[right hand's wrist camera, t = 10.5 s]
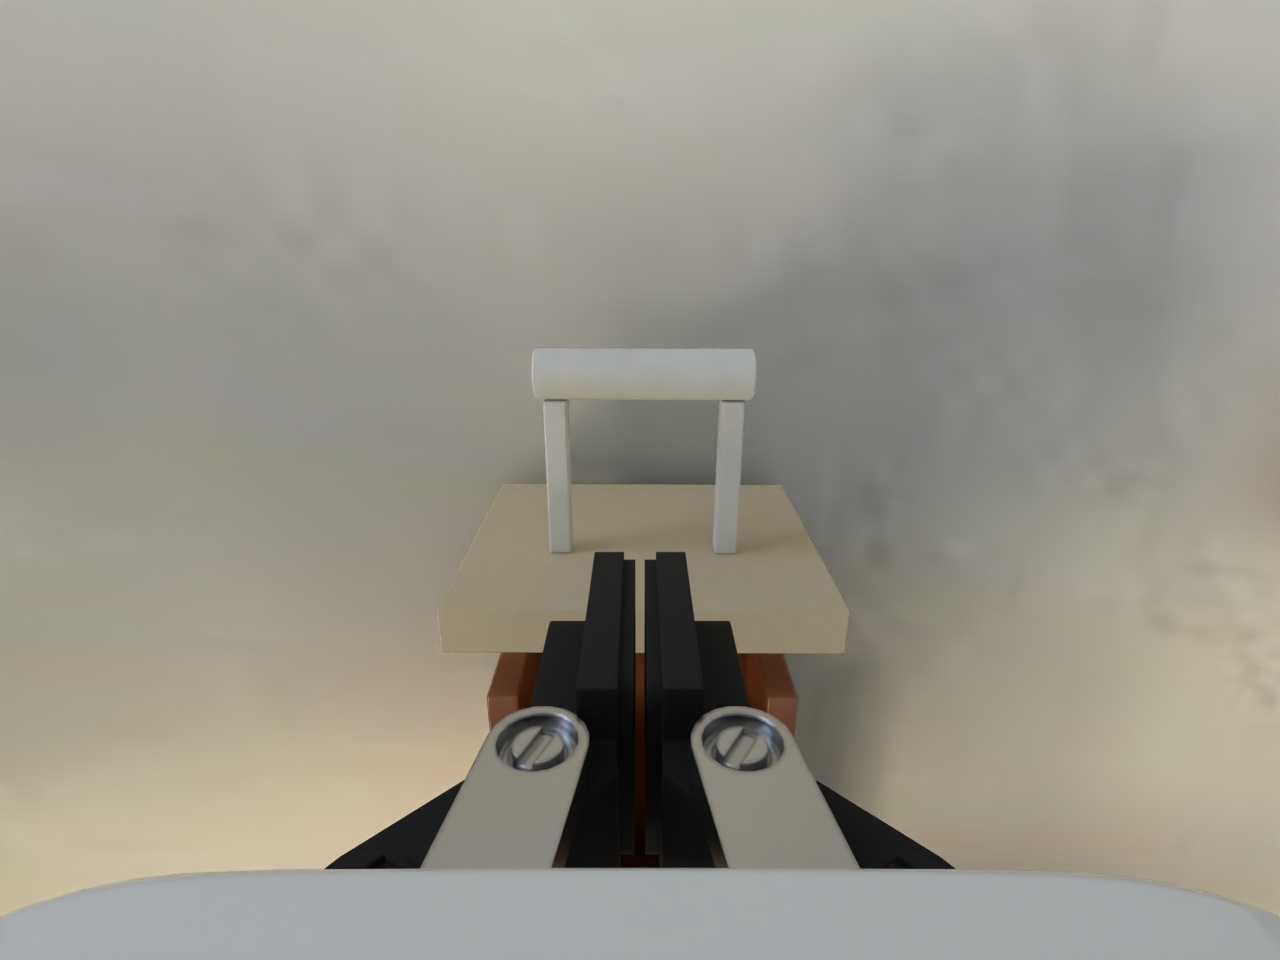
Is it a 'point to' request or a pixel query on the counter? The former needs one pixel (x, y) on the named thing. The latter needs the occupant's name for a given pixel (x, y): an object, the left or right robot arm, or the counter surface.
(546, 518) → the drawer
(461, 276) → the counter surface
